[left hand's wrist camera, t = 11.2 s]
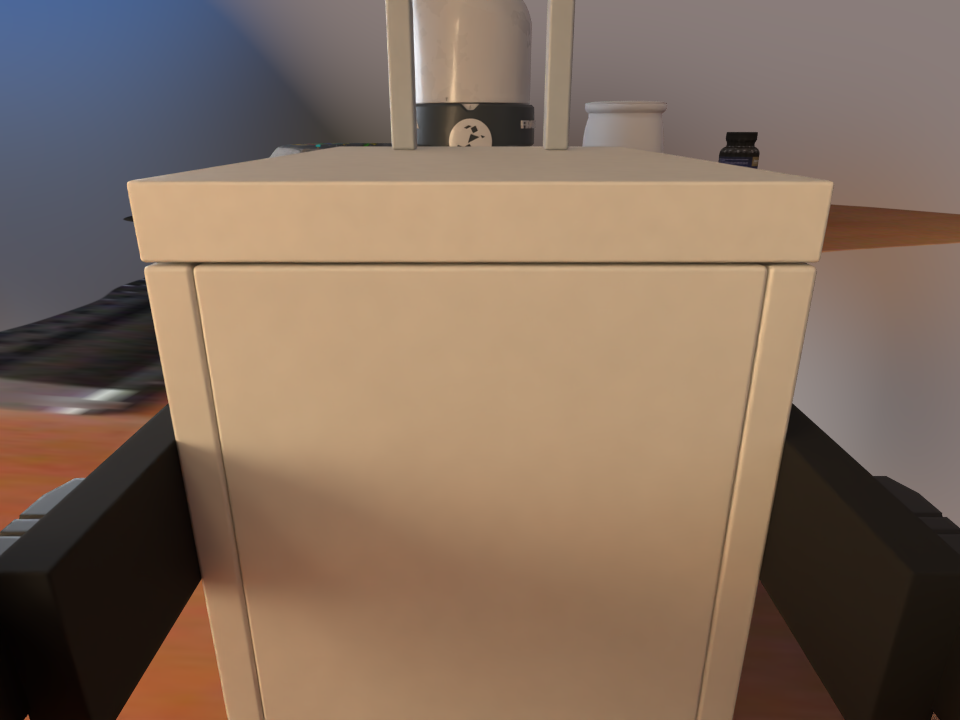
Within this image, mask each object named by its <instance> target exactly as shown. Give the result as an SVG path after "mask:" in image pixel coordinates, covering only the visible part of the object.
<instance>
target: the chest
mask: <svg viewBox="0 0 960 720" xmlns="http://www.w3.org/2000/svg"><path fill="white" fill-rule="evenodd" d="M144 274H145V279H146V284H147V290H148V295H149V300H150V306H151V311H152V316H153V322H154V327H155V332H156V338H157V343H158V348H159V354H160V359H161V364H162V370H163V375H164V380H165V386H166V391H167V396H168V402H169V407H170V412H171V418H172V423H173V428H174V434H175V439H176V445H177V450H178V455H179V461H180V466H181V471H182V477H183V482H184V487H185V493H186V498H187V503H188V509H189V514H190V519H191V525H192V530H193V535H194V541H195V546H196V551H197V557H198V562H199V567H200V573H201V578H202V583H203V589H204V594H205V599H206V605H207V610H208V615H209V621H210V626H211V631H212V637H213V642H214V647H215V653H216V658H217V663H218V669H219V674H220V679H221V685H222V690H223V696H224V701H225V706H226V712H227V717H228V720H733V714H734V709H735V704H736V698H737V693H738V688H739V682H740V677H741V672H742V666H743V661H744V656H745V651H746V645H747V640H748V635H749V629H750V624H751V619H752V613H753V608H754V603H755V597H756V592H757V587H758V581H759V576H760V571H761V566H762V560H763V555H764V550H765V544H766V539H767V534H768V528H769V523H770V518H771V512H772V507H773V502H774V497H775V491H776V486H777V481H778V475H779V470H780V465H781V459H782V454H783V449H784V443H785V438H786V433H787V427H788V422H789V417H790V412H791V406H792V401H793V395H794V390H795V385H796V380H797V374H798V369H799V364H800V358H801V353H802V348H803V343H804V337H805V332H806V326H807V321H808V316H809V311H810V305H811V300H812V295H813V289H814V284H815V279H816V274H817V271H816V268H815V267H814V266H811V265H809V264H807V263H804V262H156V263H154V264H152V265H149V266H147V267H145V271H144Z"/></svg>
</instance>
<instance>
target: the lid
mask: <svg viewBox="0 0 960 720" xmlns="http://www.w3.org/2000/svg"><path fill="white" fill-rule="evenodd" d="M385 4H386V26H387V48H388V69H389V92H390V114H391V136H392V147H334V148H328V149H321V150H315V151H309V152H303V153H297V154H291V155H285V156H279V157H273V158H267V159H260V160H254V161H249V162H242V163H236V164H230V165H224V166H218V167H212V168H206V169H200V170H193V171H187V172H181V173H175V174H169V175H163V176H157V177H151V178H145V179H138V180H132V181H129V182H128V183H127V188H128V193H129V199H130V204H131V209H132V215H133V220H134V225H135V231H136V236H137V241H138V247H139V252H140V257H141V260H142V261H143V262H818V261H819V260H820V257H821V252H822V247H823V241H824V236H825V231H826V226H827V220H828V215H829V210H830V204H831V199H832V193H833V188H834V183H833V182H832V181H828V180H822V179H816V178H809V177H803V176H797V175H791V174H785V173H779V172H773V171H767V170H761V169H754V168H748V167H742V166H736V165H730V164H724V163H718V162H712V161H706V160H699V159H693V158H687V157H681V156H675V155H669V154H663V153H657V152H651V151H645V150H638V149H632V148H626V147H568V144H569V122H570V101H571V79H572V57H573V35H574V14H575V0H548V9H547V40H546V70H545V101H544V131H543V147H417V119H416V88H415V57H414V26H413V0H385Z"/></svg>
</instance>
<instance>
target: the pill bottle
mask: <svg viewBox="0 0 960 720" xmlns="http://www.w3.org/2000/svg"><path fill="white" fill-rule="evenodd" d="M757 135H758V133H757V132H727V135H726V141H727V146H726V147H724V148H723V149H722V150H721V151H720V154H719V163H724V164H730V165H736V166H742V167H748V168H754V169H757V167H758V160H759V150H758V149H757V148H756V147H755V146H754V144H755V142H756V140H757Z"/></svg>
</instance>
